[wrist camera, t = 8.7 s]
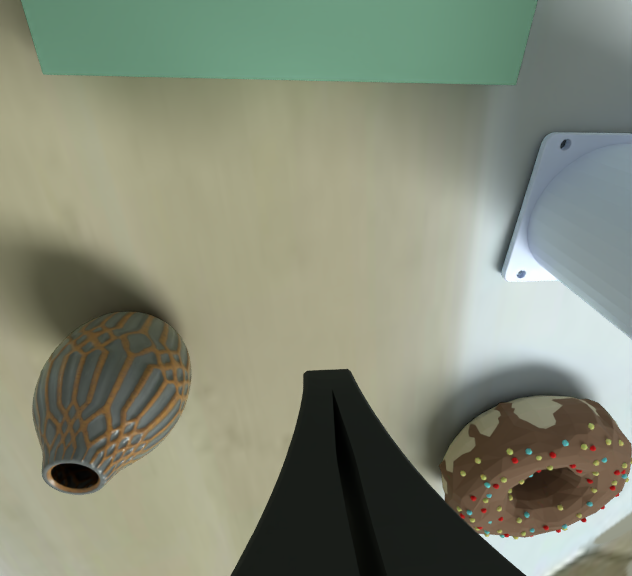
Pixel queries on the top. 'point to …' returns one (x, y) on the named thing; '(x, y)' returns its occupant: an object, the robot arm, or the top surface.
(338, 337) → the top surface
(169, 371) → the vase
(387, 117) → the top surface
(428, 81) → the board
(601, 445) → the donut
